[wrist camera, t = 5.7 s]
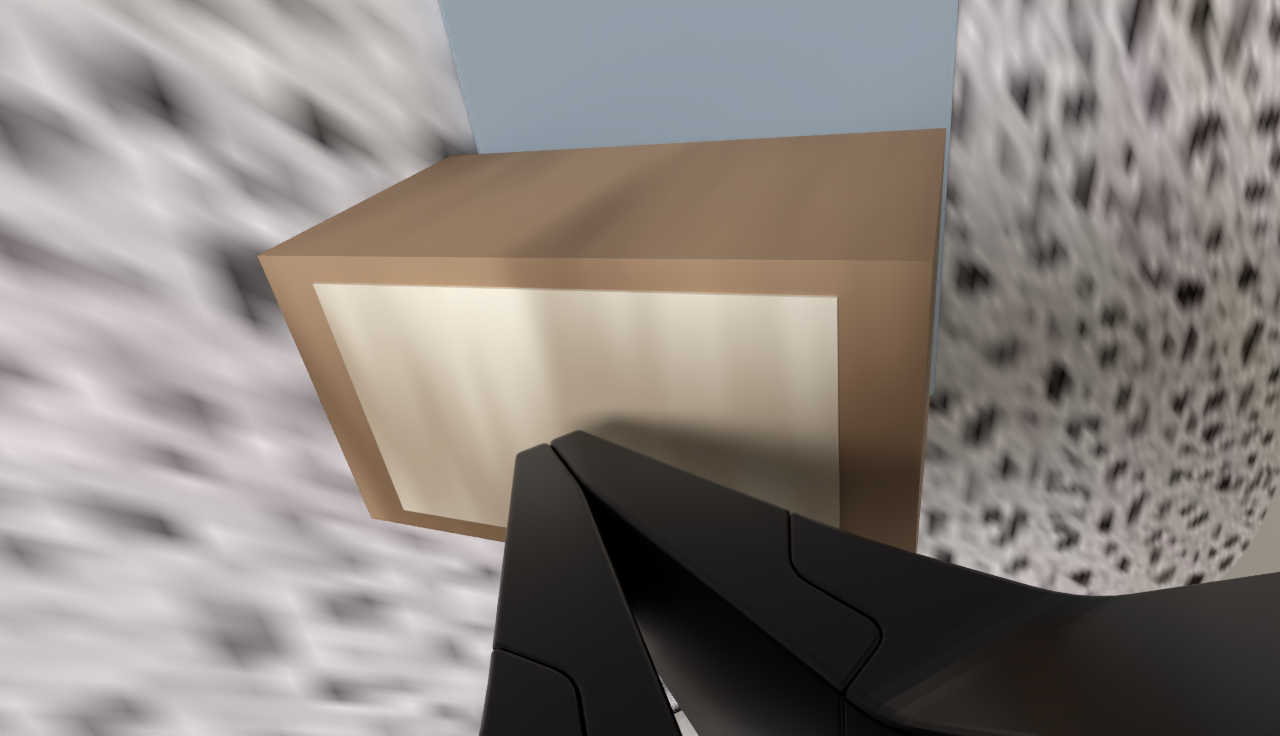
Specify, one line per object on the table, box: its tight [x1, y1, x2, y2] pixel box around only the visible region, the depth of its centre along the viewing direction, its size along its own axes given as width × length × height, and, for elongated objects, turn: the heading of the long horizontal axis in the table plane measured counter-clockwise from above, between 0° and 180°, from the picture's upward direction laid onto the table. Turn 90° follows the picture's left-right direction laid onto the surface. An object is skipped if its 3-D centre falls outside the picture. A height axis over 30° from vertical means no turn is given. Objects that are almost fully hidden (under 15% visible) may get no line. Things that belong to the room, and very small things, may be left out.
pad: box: [438, 0, 958, 396], centre depth 17 cm, size 16×12×1 cm
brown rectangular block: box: [258, 128, 946, 553], centre depth 12 cm, size 5×5×9 cm
